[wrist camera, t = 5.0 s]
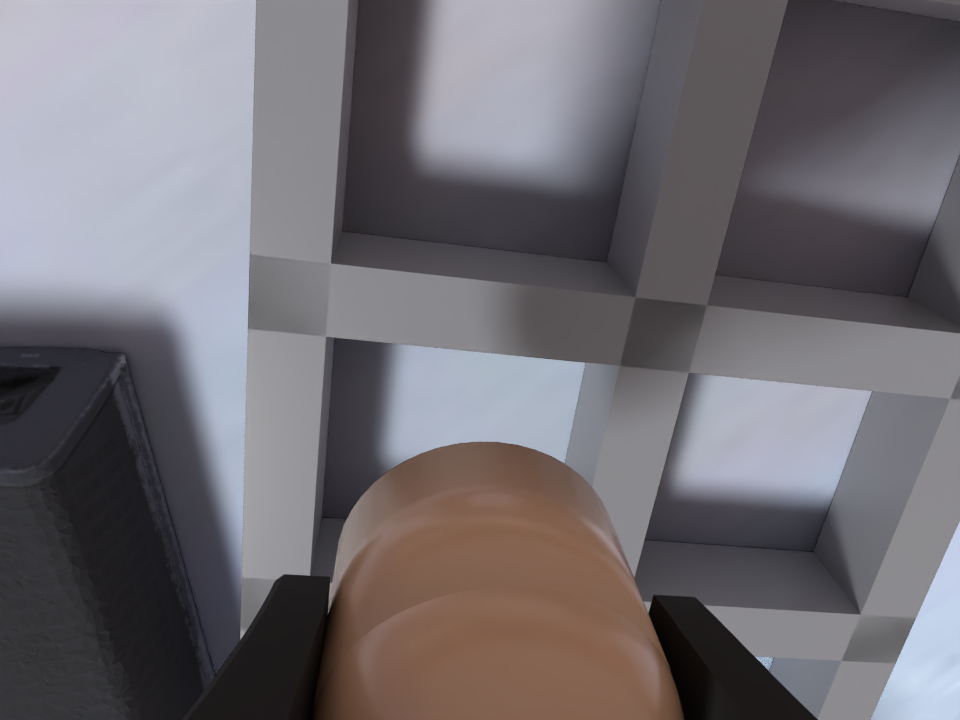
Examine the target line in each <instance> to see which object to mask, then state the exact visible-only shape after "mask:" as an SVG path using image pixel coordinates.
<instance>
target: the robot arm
mask: <svg viewBox="0 0 960 720" xmlns="http://www.w3.org/2000/svg"><path fill="white" fill-rule="evenodd" d="M329 591H330V577H326V576H308V575H290V574H284V575H282V576H281V577H279V578H278V579H277V580H275V582H274V584H273V586H272V588H271V590H270V592H269V594H268V596H267V597H266V599H265V601H264V603H263V605H262V606H261V608H260V610H259V611H258V613H257V615H256V616H255V618H254V620H253V621H252V623H251V624H250V626H249V628H248V629H247V631H246V632H245V634H244V635H243V637H242V638H241V640H240V641H239V643H238V644H237V646H236V647H235V649H234V650H233V652H232V653H231V654H230V656H229V657H228V659H227V660H226V661H225V663H224V664H223V666H222V667H221V668H220V670H219V671H218V672H217V674H216V675H215V677H214V678H213V679H212V681H211V682H210V684H209V685H208V686H207V688H206V689H205V691H204V692H203V693H202V695H201V696H200V697H199V699H198V700H197V701H196V702H195V704H194V705H193V706H192V707H191V709H190V710H189V711H188V712H187V714H186V715H185V716H184V717H183V719H182V720H311V719H312V713H313V706H314V700H315V693H316V687H317V680H318V675H319V670H320V663H321V657H322V650H323V643H324V637H325V630H326V624H327V617H328V605H329ZM648 614H649V617H650V619H651V622H652V624H653V627H654V629H655V632H656V634H657V637H658V639H659V642H660V644H661V647H662V649H663V652H664V654H665V657H666V660H667V662H668V665H669V667H670V670H671V672H672V675H673V679H674V682H675V685H676V688H677V691H678V695H679V698H680V701H681V704H682V708H683V713H684V720H818V719H817V718H816V717H815V716H814V715H813V714H812V713H811V712H810V711H809V710H808V709H807V708H805V707H804V706H803V705H802V704H801V703H800V702H799V701H798V700H797V699H796V698H795V697H794V696H793V695H792V694H791V693H790V692H789V691H788V690H787V689H786V688H785V687H784V686H783V685H782V684H781V683H780V682H779V681H778V680H777V679H776V678H775V677H774V676H773V675H772V674H771V673H770V672H769V671H768V670H767V669H766V668H765V667H764V666H763V665H762V664H761V663H760V662H759V661H758V660H757V659H756V658H755V657H754V656H753V654H752V653H751V652H750V651H749V650H748V649H747V648H746V647H745V646H744V645H743V644H742V643H741V642H740V641H739V640H738V639H737V638H736V637H735V636H734V635H733V634H732V633H731V632H730V631H729V630H728V629H727V628H726V627H725V626H724V625H723V624H722V623H721V622H720V621H719V620H718V619H717V618H716V617H715V616H714V615H713V614H712V613H711V612H710V611H709V610H708V609H707V608H706V607H705V606H704V605H703V604H702V603H701V602H700V601H699V600H698V599H697V598H696V597H686V596H668V595H653V598H652V602H651V606H650V609H649V613H648Z"/></svg>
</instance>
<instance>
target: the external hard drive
mask: <svg viewBox="0 0 960 720" xmlns="http://www.w3.org/2000/svg"><path fill="white" fill-rule="evenodd" d="M214 677H215V676H214V672H213V669H212V665H211V662H210V659H209V654H208V651H207V647H206V644H205V639H204V637H203V633H202V630H201V626H200V622H199V618H198V614H197V609H196V607H195V604H194V601H193V597H192V594H191V588H190V585H189V581H188V578H187V575H186V571H185V568H184V564H183V561H182V558H181V554H180V550H179V546H178V543H177V539H176V536H175V532H174V529H173V526H172V522H171V519H170V515H169V512H168V508H167V505H166V501H165V497H164V493H163V489H162V486H161V482H160V479H159V475H158V472H157V469H156V465H155V462H154V458H153V455H152V451H151V448H150V444H149V441H148V437H147V434H146V431H145V427H144V423H143V420H142V416H141V413H140V409H139V405H138V402H137V399H136V394H135V391H134V389H133V385H132V380H131V377H130V374H129V368H128V365H127V362H126V356H125V355H123V354H122V353H105V352H103V351H98V350H90V349H81V348H77V349H64V348H28V347H23V348H18V347H10V348H0V720H182V719H183V717H184V716H185V715H186V714H187V712H188V711H189V710H190V709H191V707H192V706H193V705H194V704H195V702H196V701H197V700H198V699H199V697H200V696H201V695H202V693H203V692H204V691H205V689H206V688H207V686H208V685H209V684H210V682H211V681H212V679H213V678H214Z"/></svg>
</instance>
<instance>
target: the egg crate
mask: <svg viewBox="0 0 960 720" xmlns="http://www.w3.org/2000/svg"><path fill="white" fill-rule="evenodd" d="M834 1H840V2H846V3H851V4H857V5H863V6H869V7H875V8H881V9H887V10H893V11H899V12H905V13H911V14H917V15H923V16H929V17H935V18H941V19H947V20H953V21H959V22H960V0H834ZM787 3H788V0H662V1H661V6H660V10H659V15H658V20H657V25H656V29H655V34H654V39H653V44H652V49H651V53H650V58H649V63H648V68H647V73H646V77H645V82H644V87H643V92H642V96H641V101H640V106H639V111H638V116H637V120H636V125H635V130H634V135H633V140H632V144H631V149H630V154H629V159H628V163H627V168H626V173H625V178H624V183H623V187H622V192H621V197H620V202H619V206H618V211H617V216H616V221H615V226H614V230H613V235H612V240H611V245H610V250H609V254H608V259H607V262H599V261H591V260H582V259H573V258H565V257H556V256H548V255H539V254H531V253H522V252H513V251H505V250H496V249H488V248H479V247H471V246H462V245H453V244H445V243H436V242H428V241H419V240H411V239H402V238H393V237H385V236H376V235H368V234H359V233H351V232H342V227H343V213H344V199H345V186H346V172H347V158H348V144H349V130H350V116H351V102H352V88H353V74H354V60H355V46H356V32H357V18H358V4H359V0H256V29H255V69H254V109H253V148H252V188H251V228H250V267H249V307H248V347H247V386H246V426H245V465H244V505H243V545H242V584H241V624H240V640H241V638H242V637H243V635H244V634H245V632H246V631H247V629H248V628H249V626H250V624H251V623H252V621H253V620H254V618H255V616H256V615H257V613H258V611H259V610H260V608H261V606H262V605H263V603H264V601H265V599H266V597H267V596H268V594H269V592H270V590H271V588H272V586H273V584H274V582H275V580H277V579H278V578H279V577H281V576H282V575H284V574H290V575H308V576H326V577H330V591H329V601H330V594H331V588H332V581H333V575H334V568H335V562H336V555H337V549H338V542H339V538H340V535H341V532H342V529H343V526H344V524H345V522H346V520H347V519H336V518H322V506H323V492H324V478H325V464H326V450H327V437H328V423H329V409H330V395H331V381H332V367H333V353H334V339H335V338H344V339H354V340H364V341H374V342H384V343H394V344H404V345H414V346H424V347H434V348H444V349H454V350H465V351H475V352H485V353H495V354H505V355H515V356H525V357H535V358H545V359H555V360H565V361H575V362H585V363H586V364H585V369H584V374H583V379H582V384H581V388H580V393H579V398H578V403H577V407H576V412H575V417H574V422H573V427H572V431H571V436H570V441H569V446H568V451H567V455H566V460H565V464H566V465H568V466H569V467H570V468H572V469H573V470H574V471H575V472H577V473H578V474H579V475H581V476H582V477H583V478H584V479H585V480H586V481H587V482H588V483H589V484H590V485H591V486H592V487H593V489H594V490H595V492H596V493H597V494H598V496H599V497H600V499H601V500H602V502H603V504H604V506H605V508H606V510H607V512H608V513H609V516H610V518H611V521H612V523H613V526H614V528H615V531H616V533H617V536H618V538H619V541H620V544H621V546H622V549H623V551H624V554H625V556H626V559H627V561H628V564H629V566H630V569H631V571H632V574H633V576H634V579H635V581H636V584H637V586H638V589H639V591H640V594H641V596H642V599H643V602H644V604H645V607H646V609H647V612H648V613H649V609H650V606H651V602H652V598H653V595H668V596H686V597H696V598H697V599H698V600H699V601H700V602H701V603H702V604H703V605H704V606H705V607H706V608H707V609H708V610H709V611H710V612H711V613H712V614H713V615H714V616H715V617H716V618H717V619H718V620H719V621H720V622H721V623H722V624H723V625H724V626H725V627H726V628H727V629H728V630H729V631H730V632H731V633H732V634H733V635H734V636H735V637H736V638H737V639H738V640H739V641H740V642H741V643H742V644H743V645H744V646H745V647H746V648H747V649H748V650H749V651H750V652H751V653H752V654H753V656H758V657H774V659H773V662H772V665H771V667H770V670H769V672H770V673H771V674H772V675H773V676H774V677H775V678H776V679H777V680H778V681H779V682H780V683H781V684H782V685H783V686H784V687H785V688H786V689H787V690H788V691H789V692H790V693H791V694H792V695H793V696H794V697H795V698H796V699H797V700H798V701H799V702H800V703H801V704H802V705H803V706H804V707H805V708H807V709H808V710H809V711H810V712H811V713H812V714H813V715H814V716H815V717H816V718H817V719H818V720H870V719H871V717H872V715H873V712H874V710H875V708H876V706H877V703H878V701H879V699H880V697H881V695H882V692H883V690H884V688H885V686H886V683H887V681H888V679H889V677H890V675H891V672H892V670H893V668H894V666H895V663H896V661H897V659H898V657H899V655H900V652H901V650H902V648H903V646H904V644H905V641H906V639H907V637H908V635H909V632H910V630H911V628H912V626H913V624H914V621H915V619H916V617H917V615H918V612H919V610H920V608H921V606H922V604H923V601H924V599H925V597H926V595H927V592H928V590H929V588H930V586H931V584H932V581H933V579H934V577H935V575H936V572H937V570H938V568H939V566H940V564H941V561H942V559H943V557H944V555H945V553H946V550H947V548H948V546H949V544H950V541H951V539H952V537H953V535H954V533H955V530H956V528H957V526H958V524H959V521H960V157H959V160H958V162H957V165H956V168H955V171H954V173H953V176H952V179H951V181H950V184H949V187H948V189H947V192H946V195H945V198H944V200H943V203H942V206H941V208H940V211H939V214H938V216H937V219H936V222H935V225H934V227H933V230H932V233H931V235H930V238H929V241H928V243H927V246H926V249H925V252H924V254H923V257H922V260H921V262H920V265H919V268H918V270H917V273H916V276H915V279H914V281H913V284H912V287H911V289H910V292H909V295H908V297H899V296H891V295H882V294H873V293H865V292H856V291H848V290H839V289H831V288H822V287H813V286H805V285H796V284H788V283H779V282H771V281H762V280H753V279H745V278H736V277H728V276H719V275H715V273H716V269H717V266H718V262H719V258H720V254H721V251H722V247H723V243H724V239H725V236H726V232H727V228H728V224H729V221H730V217H731V213H732V209H733V206H734V202H735V198H736V194H737V191H738V187H739V183H740V179H741V176H742V172H743V168H744V164H745V161H746V157H747V153H748V149H749V146H750V142H751V138H752V134H753V131H754V127H755V123H756V119H757V116H758V112H759V108H760V104H761V101H762V97H763V93H764V89H765V86H766V82H767V78H768V74H769V70H770V67H771V63H772V59H773V55H774V52H775V48H776V44H777V40H778V37H779V33H780V29H781V25H782V22H783V18H784V14H785V10H786V7H787ZM689 373H696V374H706V375H716V376H726V377H736V378H746V379H756V380H766V381H776V382H786V383H796V384H806V385H816V386H826V387H837V388H847V389H857V390H867V391H873V392H872V395H871V397H870V400H869V403H868V405H867V408H866V411H865V414H864V416H863V419H862V422H861V424H860V427H859V430H858V432H857V435H856V438H855V441H854V443H853V446H852V449H851V451H850V454H849V457H848V459H847V462H846V465H845V468H844V470H843V473H842V476H841V478H840V481H839V484H838V486H837V489H836V492H835V495H834V497H833V500H832V503H831V505H830V508H829V511H828V513H827V516H826V519H825V522H824V524H823V527H822V530H821V532H820V535H819V538H818V540H817V543H816V546H815V549H814V551H813V552H805V551H791V550H777V549H762V548H748V547H734V546H720V545H706V544H691V543H677V542H663V541H649V540H645V536H646V532H647V528H648V525H649V521H650V517H651V513H652V510H653V506H654V502H655V498H656V495H657V491H658V487H659V483H660V480H661V476H662V472H663V468H664V465H665V461H666V457H667V453H668V450H669V446H670V442H671V438H672V435H673V431H674V427H675V423H676V420H677V416H678V412H679V408H680V405H681V401H682V397H683V393H684V390H685V386H686V382H687V378H688V375H689ZM328 608H329V605H328Z"/></svg>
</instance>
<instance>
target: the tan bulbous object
mask: <svg viewBox="0 0 960 720" xmlns="http://www.w3.org/2000/svg"><path fill="white" fill-rule="evenodd" d="M311 720H684V713H683V708H682V704H681V701H680V698H679V695H678V691H677V688H676V685H675V682H674V679H673V675H672V672H671V670H670V667H669V665H668V662H667V660H666V657H665V654H664V652H663V649H662V647H661V644H660V642H659V639H658V637H657V634H656V632H655V629H654V627H653V624H652V622H651V619H650V617H649V614H648V612H647V609H646V607H645V604H644V602H643V599H642V596H641V594H640V591H639V589H638V586H637V584H636V581H635V579H634V576H633V574H632V571H631V569H630V566H629V564H628V561H627V559H626V556H625V554H624V551H623V549H622V546H621V544H620V541H619V538H618V536H617V533H616V531H615V528H614V526H613V523H612V521H611V518H610V516H609V513H608V512H607V510H606V508H605V506H604V504H603V502H602V500H601V499H600V497H599V496H598V494H597V493H596V492H595V490H594V489H593V487H592V486H591V485H590V484H589V483H588V482H587V481H586V480H585V479H584V478H583V477H582V476H581V475H579V474H578V473H577V472H575V471H574V470H573V469H572V468H570V467H569V466H568V465H566V464H564V463H562V462H561V461H559V460H557V459H555V458H554V457H552V456H549V455H547V454H544V453H542V452H539V451H537V450H534V449H530V448H527V447H523V446H519V445H514V444H507V443H500V442H469V443H459V444H454V445H449V446H444V447H439V448H436V449H433V450H430V451H427V452H424V453H421V454H419V455H417V456H415V457H413V458H410V459H408V460H406V461H404V462H402V463H401V464H399V465H398V466H396V467H394V468H393V469H391V470H390V471H388V472H387V473H385V474H384V475H383V476H382V477H380V478H379V479H378V480H377V481H376V482H374V483H373V484H372V485H371V486H370V487H369V488H368V490H367V491H366V492H365V493H364V494H363V495H362V496H361V497H360V499H359V500H358V502H357V503H356V504H355V506H354V507H353V509H352V510H351V512H350V514H349V516H348V518H347V520H346V522H345V524H344V526H343V529H342V532H341V535H340V538H339V542H338V549H337V555H336V562H335V568H334V575H333V581H332V588H331V594H330V601H329V608H328V617H327V624H326V630H325V637H324V643H323V650H322V657H321V663H320V670H319V675H318V680H317V687H316V693H315V700H314V706H313V713H312V719H311Z"/></svg>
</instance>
